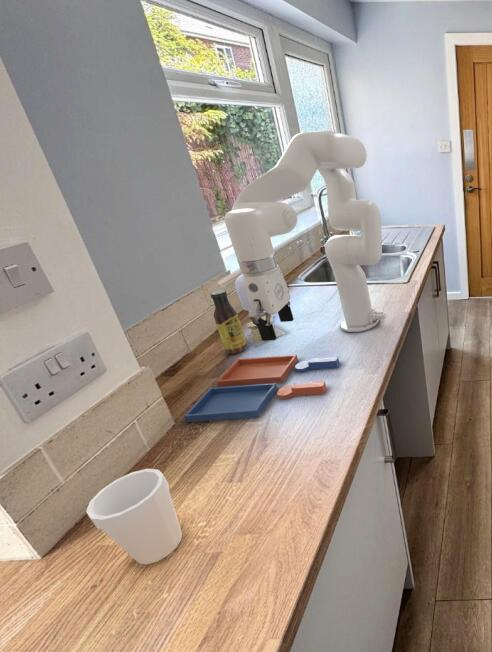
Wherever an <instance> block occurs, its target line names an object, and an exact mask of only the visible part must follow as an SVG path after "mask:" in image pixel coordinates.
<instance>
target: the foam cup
mask: <svg viewBox="0 0 492 652" xmlns="http://www.w3.org/2000/svg"><path fill="white" fill-rule="evenodd" d="M169 487H170V484H169V482H168V480H167V479H166V477H165V475H164V474H163V473H162V472H161V470H159V469H158V468H157V469H156V468H144V469H139V470H136V471H132V472H130V473H127V474H126V475H123V476H120V477H119V478H117V479H115V480H113V481H111V483H109V484H108V485H106V486H104V487H103V488H102V489H100V490H99V491H98V493H96V494H95V496H93V498H92V499H91V500H90V501H89V503H88V506H87V508H86V511H85V512H86V515H87V516H88V518H89V519H90V520H91V521H92V523H93V525H94V526H95V527H96V529H98V530H101V531H102V532H103V533H104V534H106V535H107V536H108V537H109V538H110V539H111V540H112V541H113V542H114V543H115V544H117V546H119V547H120V548H121V549H122V550H123V551H124V552H125V553H127V554H128V555H129V557H131V558H133V560H134V561H136V562H137V563H138V564H140V565H151V564H153V563H157V562H159V561H161V560H163V559H164V558H167V556H169V555H170V554H172V552H174V551H175V549H177V547H178V546H179V544H180V542H181V541H182V536H183V532H182V527H181V525H180V522H179V518H178V516H177V512H176V509H175V506H174V502H173V498H172V496H171V491H170V489H169Z"/></svg>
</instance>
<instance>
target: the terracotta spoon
mask: <svg viewBox="0 0 492 652" xmlns="http://www.w3.org/2000/svg"><path fill="white" fill-rule="evenodd" d="M327 390H328V388H327V385H326V381H325V380H324V381H322V380H321V381H311V382H298V383H293V385H292V384H291V385H289V384H288V385H284V386H282V387H280V388H278V390H277V391H276V395H277V398H278V399H280V400H287V399H290V398H292V397H299V396H300V397H301V396H311V395H323V394H325V393H326V391H327Z"/></svg>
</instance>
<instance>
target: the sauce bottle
mask: <svg viewBox="0 0 492 652" xmlns="http://www.w3.org/2000/svg"><path fill="white" fill-rule="evenodd" d="M209 294H210V298H211V299H212V301H213V305H214V307H215V308H214V311H213V318H214V322H215V325H216V328H217V331H218V335H219V337H220V339H221V343H222V346H223V348H224V349H225V350H224V351H225V352H226V354H229V355H230V354H231V355H234V354H238V353H240V352H243V351H245V350H246V349H247V348H248V341H247V340H246V334H245V332H244V328H243V325H242V322H241V319H240V316H239V314H238V312H237V311H236V310H235V309H234V307H233V306H232V304H231V303H230V301H229V298H228V292H227V290H225V289H218V290H214V291H212V292H210V293H209Z"/></svg>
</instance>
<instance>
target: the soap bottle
mask: <svg viewBox="0 0 492 652" xmlns="http://www.w3.org/2000/svg"><path fill="white" fill-rule="evenodd" d="M234 287H235V291H236V294H237V296H238V299H239V302H240V305H241V307H242V309H243V310H244V311H246V312H248V314H249V313H250V310H251V306H250V303H249V300H248V296H247V292H246V288H245V283H244V275H242V274H240V275H239V276H238V277H237V278H236V279H235V282H234ZM263 312H266V311H263ZM262 317H266V316H261V318H262ZM274 317H275V315H272V314H271V318H273V319H274Z"/></svg>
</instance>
